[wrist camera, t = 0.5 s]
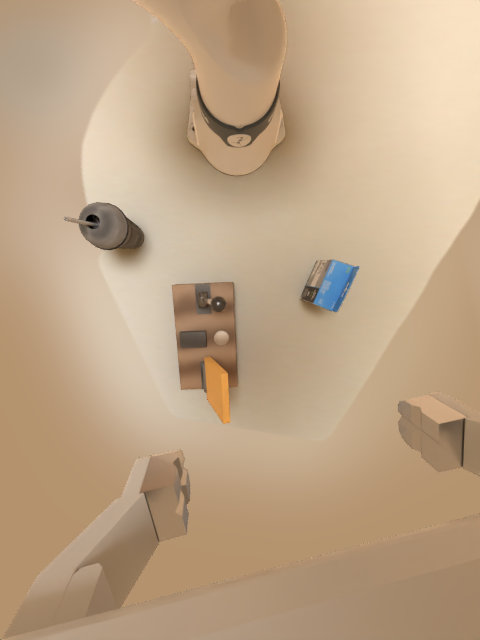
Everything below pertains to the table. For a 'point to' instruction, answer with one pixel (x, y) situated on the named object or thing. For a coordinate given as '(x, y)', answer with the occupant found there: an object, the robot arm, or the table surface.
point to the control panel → (204, 332)
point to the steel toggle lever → (211, 302)
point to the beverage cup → (108, 227)
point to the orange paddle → (217, 388)
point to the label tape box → (329, 284)
